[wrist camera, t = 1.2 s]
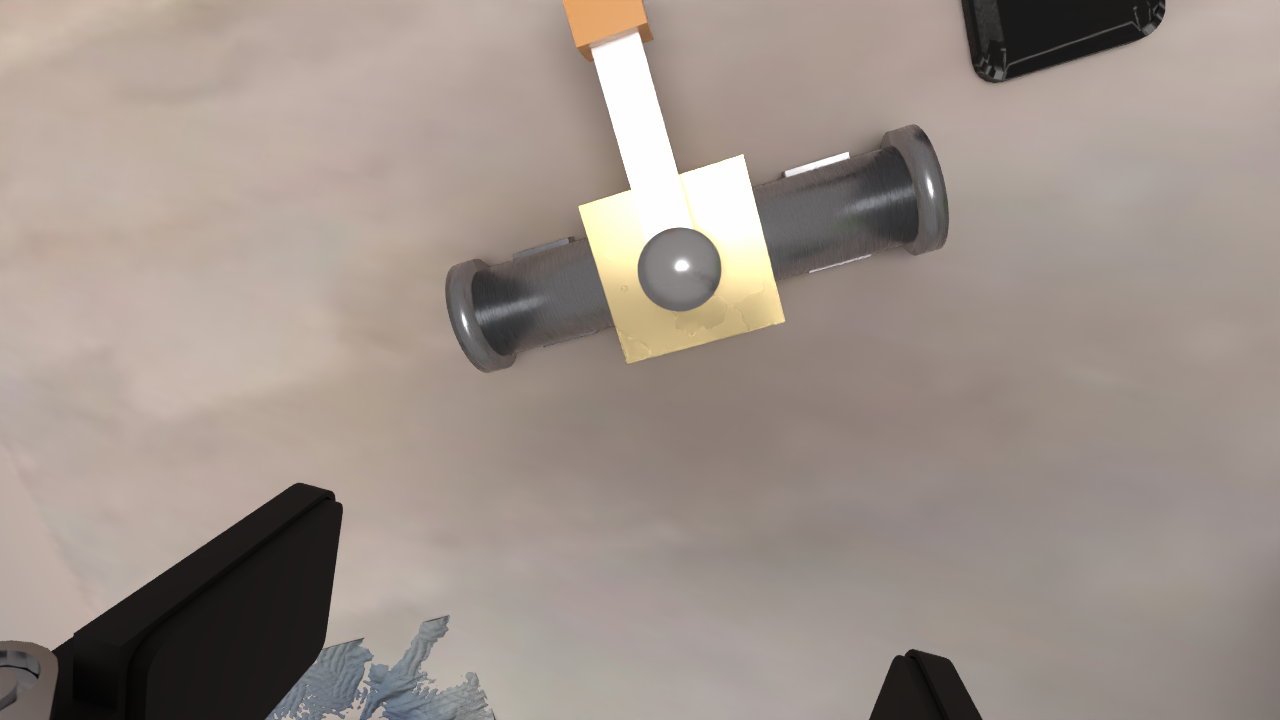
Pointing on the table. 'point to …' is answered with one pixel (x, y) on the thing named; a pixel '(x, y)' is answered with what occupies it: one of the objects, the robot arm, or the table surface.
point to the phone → (1050, 31)
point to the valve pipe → (743, 234)
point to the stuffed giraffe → (382, 685)
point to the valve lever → (646, 153)
